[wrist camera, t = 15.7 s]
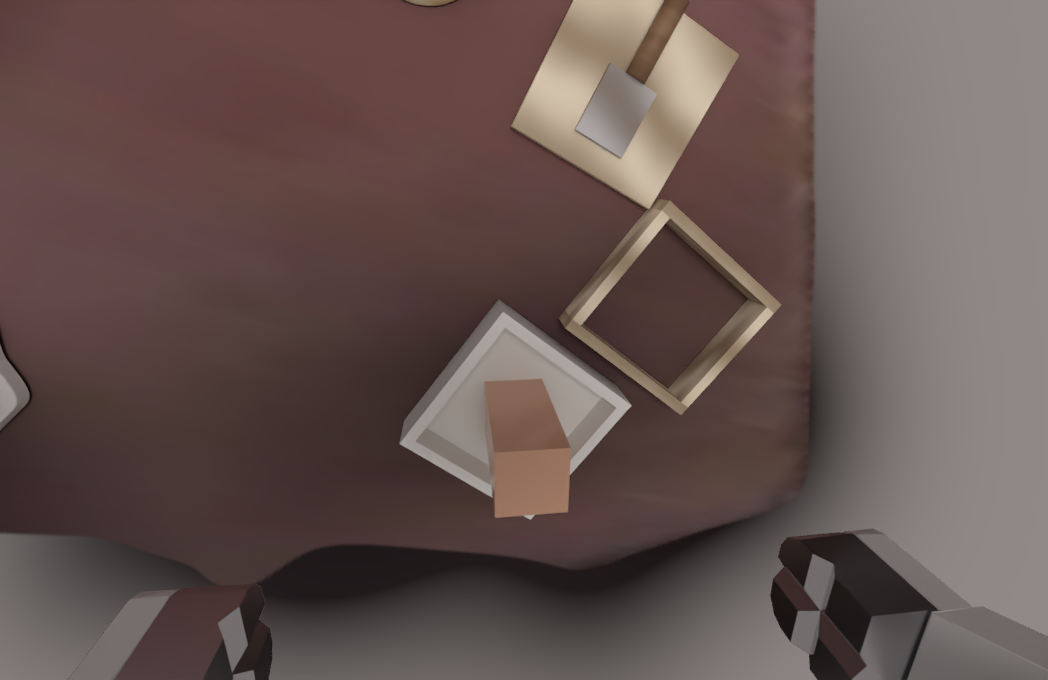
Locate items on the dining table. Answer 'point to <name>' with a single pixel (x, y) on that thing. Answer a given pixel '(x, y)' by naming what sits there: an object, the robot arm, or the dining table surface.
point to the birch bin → (723, 342)
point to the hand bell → (429, 2)
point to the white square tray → (499, 355)
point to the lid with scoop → (624, 91)
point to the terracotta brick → (525, 449)
